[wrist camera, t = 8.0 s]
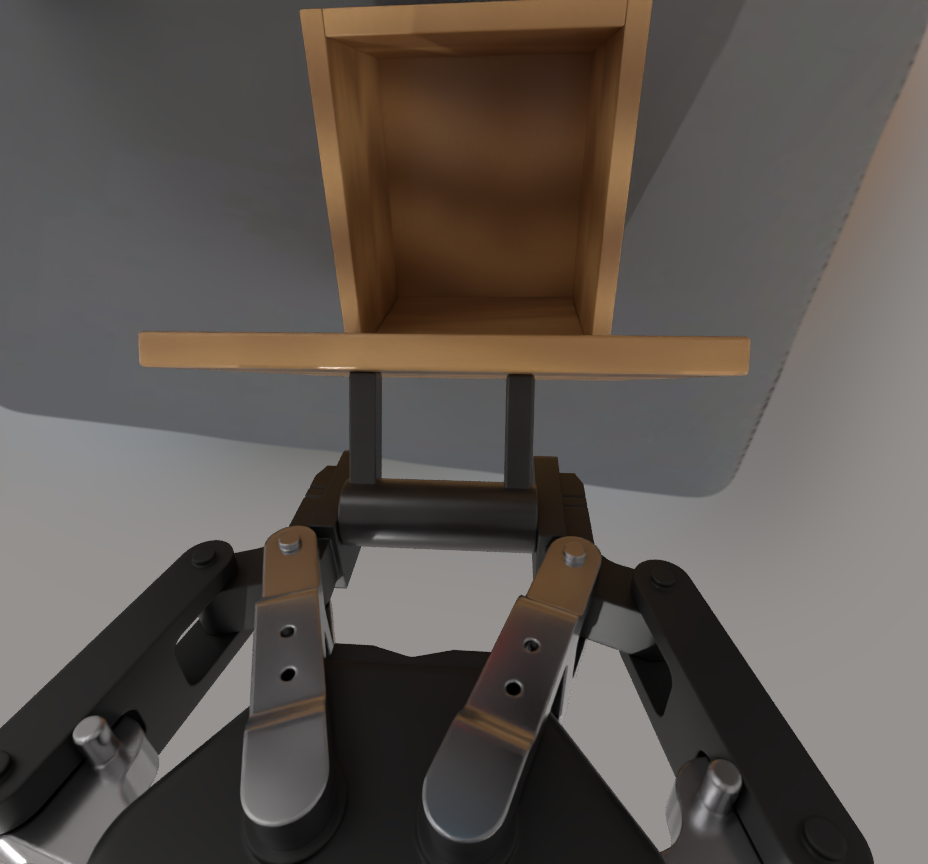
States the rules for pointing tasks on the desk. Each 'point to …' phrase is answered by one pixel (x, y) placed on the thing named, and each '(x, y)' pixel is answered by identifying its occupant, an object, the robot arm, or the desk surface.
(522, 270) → the chest
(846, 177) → the desk surface
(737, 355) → the lid
